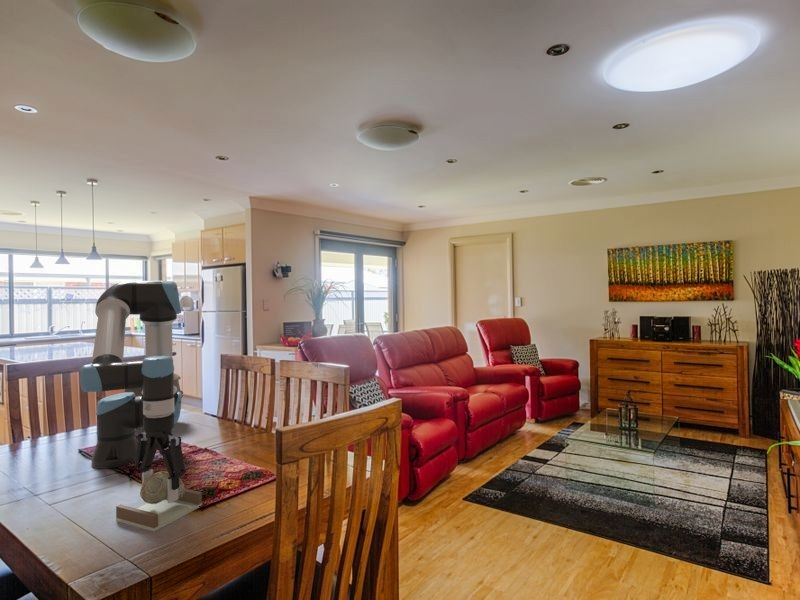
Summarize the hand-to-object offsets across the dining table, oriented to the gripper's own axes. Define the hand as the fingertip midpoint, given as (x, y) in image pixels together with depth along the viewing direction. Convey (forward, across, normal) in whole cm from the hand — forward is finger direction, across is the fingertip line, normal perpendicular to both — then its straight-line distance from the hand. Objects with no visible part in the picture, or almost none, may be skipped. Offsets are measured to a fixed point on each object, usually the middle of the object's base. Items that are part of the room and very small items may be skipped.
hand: (160, 497), depth 125 cm
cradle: (+4, 0, 0) cm, 4 cm away
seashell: (+1, 0, 0) cm, 1 cm away
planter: (+4, -76, +58) cm, 96 cm away
